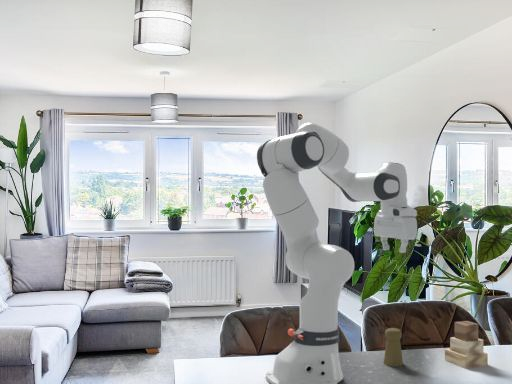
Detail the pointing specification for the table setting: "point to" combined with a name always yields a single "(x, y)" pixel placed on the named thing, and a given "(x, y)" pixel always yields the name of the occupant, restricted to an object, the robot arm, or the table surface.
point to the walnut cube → (466, 331)
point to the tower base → (466, 359)
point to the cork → (393, 348)
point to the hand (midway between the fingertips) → (394, 251)
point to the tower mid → (466, 346)
